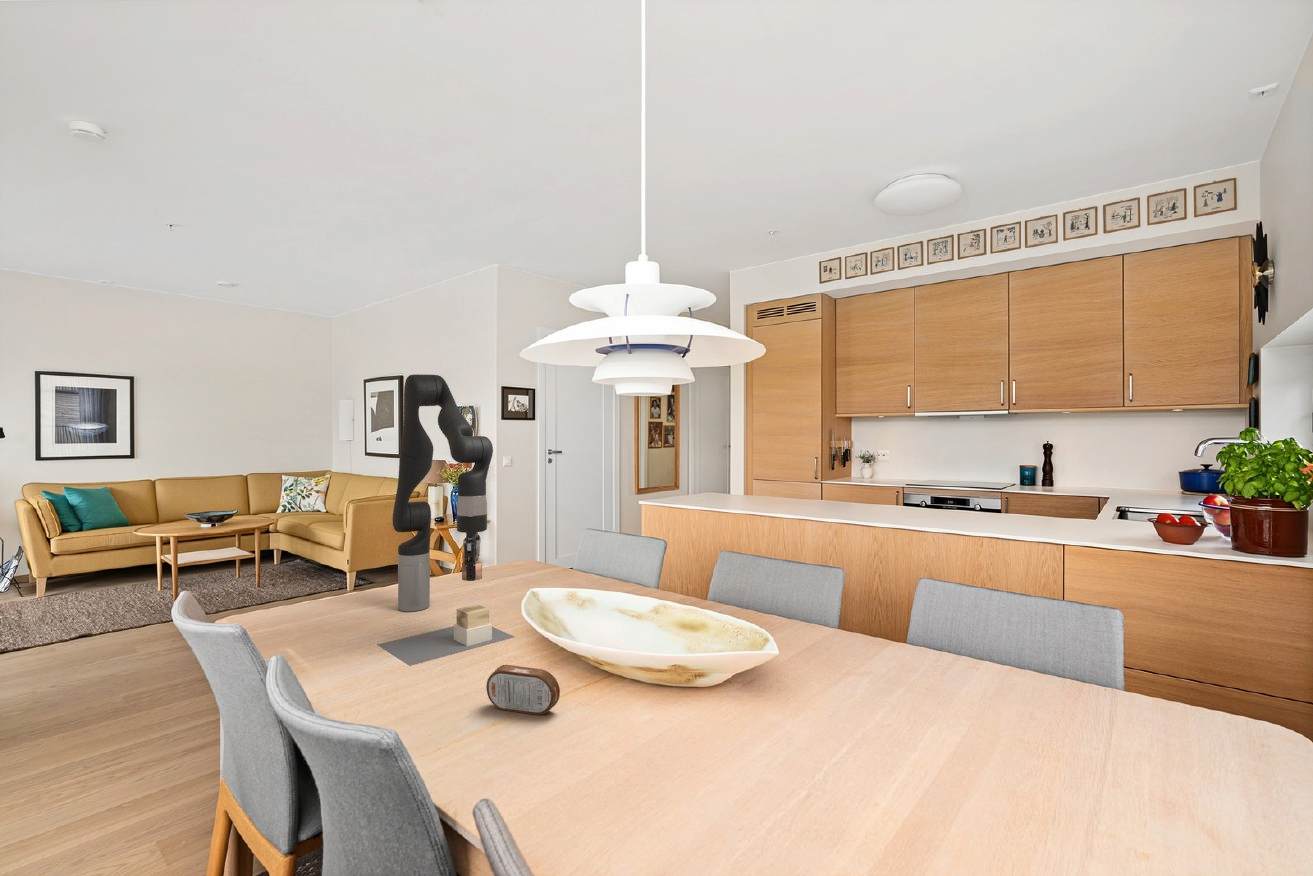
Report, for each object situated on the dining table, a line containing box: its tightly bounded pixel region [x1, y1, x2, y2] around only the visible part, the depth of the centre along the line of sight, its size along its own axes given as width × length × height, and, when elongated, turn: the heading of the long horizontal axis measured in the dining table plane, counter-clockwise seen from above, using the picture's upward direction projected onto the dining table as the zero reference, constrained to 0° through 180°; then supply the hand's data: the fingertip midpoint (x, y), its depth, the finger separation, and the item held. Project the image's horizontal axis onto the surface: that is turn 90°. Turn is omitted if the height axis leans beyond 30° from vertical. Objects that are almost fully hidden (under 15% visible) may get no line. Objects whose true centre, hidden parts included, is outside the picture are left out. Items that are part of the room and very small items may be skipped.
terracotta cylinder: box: [461, 560, 483, 582], centre depth 156 cm, size 5×5×4 cm
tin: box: [486, 664, 561, 716], centre depth 118 cm, size 15×3×8 cm, turn 74°
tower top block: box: [456, 603, 490, 629], centre depth 156 cm, size 6×6×4 cm
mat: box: [376, 625, 516, 667], centre depth 155 cm, size 20×28×1 cm
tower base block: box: [453, 622, 493, 646], centre depth 156 cm, size 7×7×4 cm
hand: (472, 577), depth 156 cm, fingers closed on terracotta cylinder, 5 cm apart
